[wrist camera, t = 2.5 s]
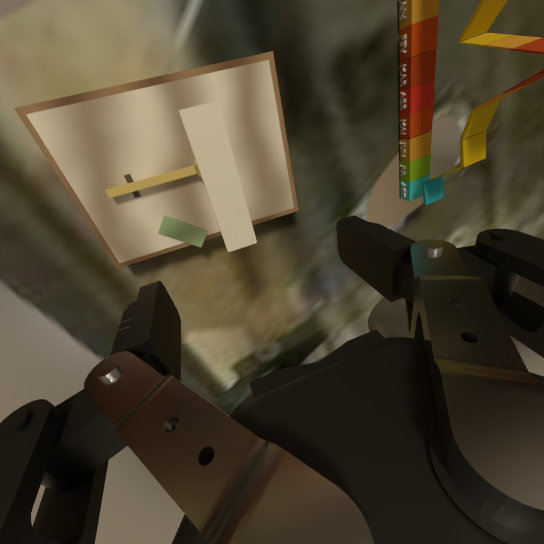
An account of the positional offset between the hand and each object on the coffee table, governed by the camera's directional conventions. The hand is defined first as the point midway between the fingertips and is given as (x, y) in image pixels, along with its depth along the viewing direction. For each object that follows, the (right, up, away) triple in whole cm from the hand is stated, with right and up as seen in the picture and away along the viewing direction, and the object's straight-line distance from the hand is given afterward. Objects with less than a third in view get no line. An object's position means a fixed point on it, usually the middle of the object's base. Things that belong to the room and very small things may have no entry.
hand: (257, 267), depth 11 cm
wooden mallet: (-9, +8, +12) cm, 17 cm away
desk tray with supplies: (-8, +10, +14) cm, 19 cm away
